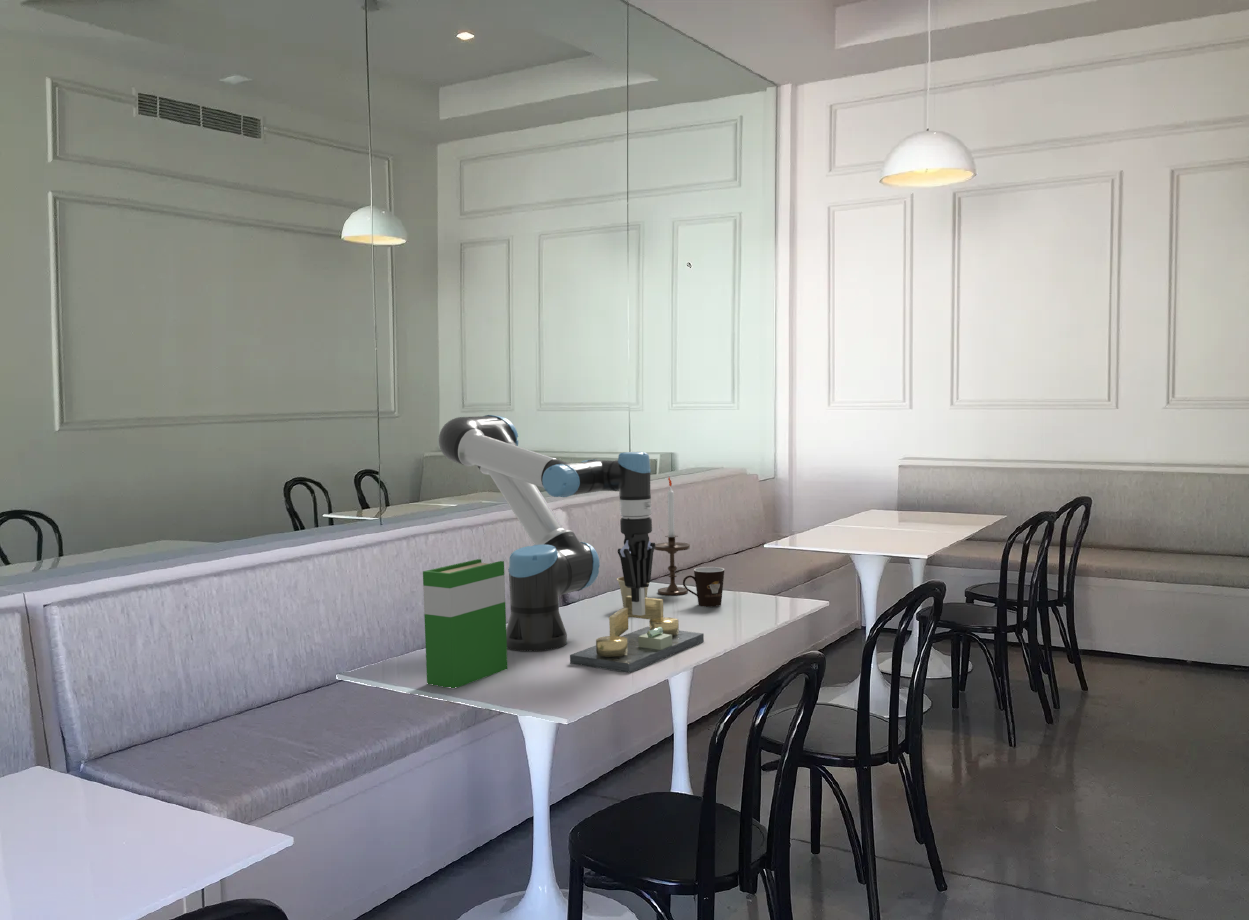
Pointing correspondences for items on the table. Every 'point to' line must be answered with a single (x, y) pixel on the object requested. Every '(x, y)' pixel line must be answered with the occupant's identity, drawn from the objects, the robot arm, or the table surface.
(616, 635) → the near knob
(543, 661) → the table surface
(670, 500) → the candlestick
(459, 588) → the hardback book
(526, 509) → the robot arm
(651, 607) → the far knob
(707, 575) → the coffee mug
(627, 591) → the flower pot
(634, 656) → the level plate
